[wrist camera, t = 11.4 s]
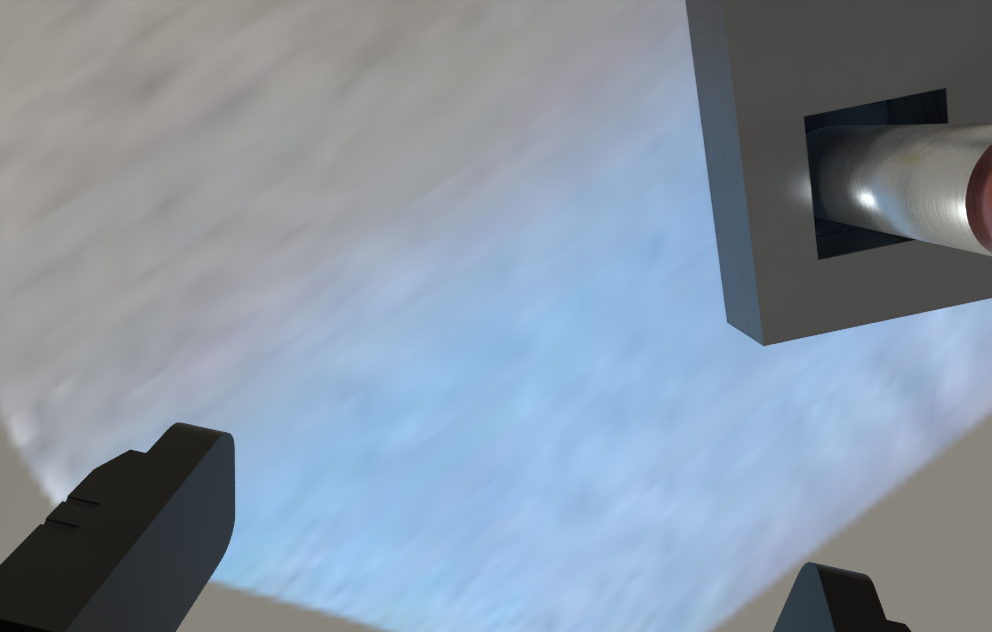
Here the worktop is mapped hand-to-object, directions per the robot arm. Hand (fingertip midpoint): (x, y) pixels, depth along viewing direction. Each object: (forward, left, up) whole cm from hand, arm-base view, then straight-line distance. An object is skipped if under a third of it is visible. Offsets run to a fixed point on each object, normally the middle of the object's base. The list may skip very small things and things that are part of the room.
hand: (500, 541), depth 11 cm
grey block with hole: (-4, +14, -19) cm, 24 cm away
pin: (-1, +14, -19) cm, 24 cm away
